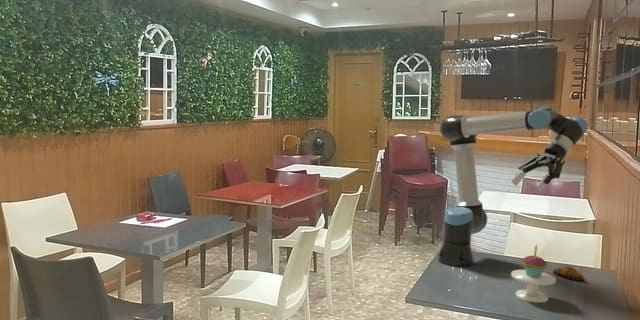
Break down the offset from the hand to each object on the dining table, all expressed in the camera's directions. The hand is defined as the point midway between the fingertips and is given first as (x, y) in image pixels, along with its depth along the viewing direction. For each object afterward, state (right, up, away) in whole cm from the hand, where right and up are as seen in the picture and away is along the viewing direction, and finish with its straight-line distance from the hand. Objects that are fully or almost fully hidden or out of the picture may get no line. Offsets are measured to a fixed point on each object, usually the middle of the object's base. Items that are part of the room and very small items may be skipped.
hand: (525, 186), depth 215 cm
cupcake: (-4, -31, -18) cm, 36 cm away
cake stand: (-4, -39, -17) cm, 43 cm away
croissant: (+21, -38, +9) cm, 45 cm away
